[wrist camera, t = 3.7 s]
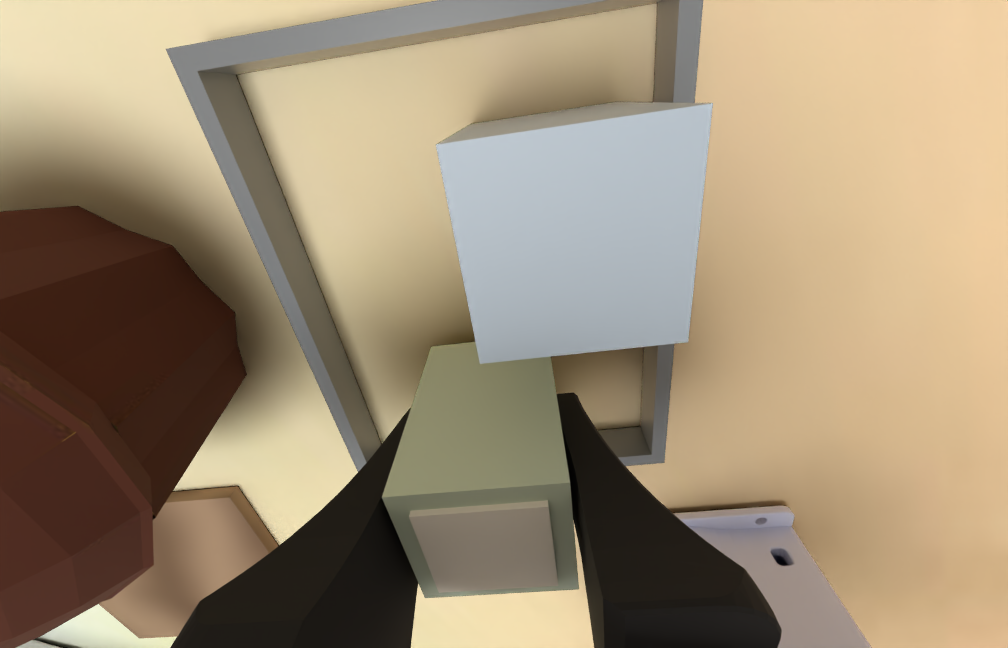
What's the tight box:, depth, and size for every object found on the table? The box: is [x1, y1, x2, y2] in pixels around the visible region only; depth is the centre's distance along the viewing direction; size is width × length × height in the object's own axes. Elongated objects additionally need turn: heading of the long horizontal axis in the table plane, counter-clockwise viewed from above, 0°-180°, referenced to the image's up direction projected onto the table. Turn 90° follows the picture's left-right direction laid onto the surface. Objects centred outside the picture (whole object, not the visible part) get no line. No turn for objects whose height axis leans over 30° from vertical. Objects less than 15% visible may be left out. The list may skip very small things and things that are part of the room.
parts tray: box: [166, 0, 703, 472], centre depth 13 cm, size 12×15×2 cm
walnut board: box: [99, 486, 278, 638], centre depth 22 cm, size 12×12×1 cm
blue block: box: [436, 102, 713, 364], centre depth 9 cm, size 4×4×6 cm
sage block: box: [382, 342, 579, 598], centre depth 12 cm, size 4×4×6 cm
